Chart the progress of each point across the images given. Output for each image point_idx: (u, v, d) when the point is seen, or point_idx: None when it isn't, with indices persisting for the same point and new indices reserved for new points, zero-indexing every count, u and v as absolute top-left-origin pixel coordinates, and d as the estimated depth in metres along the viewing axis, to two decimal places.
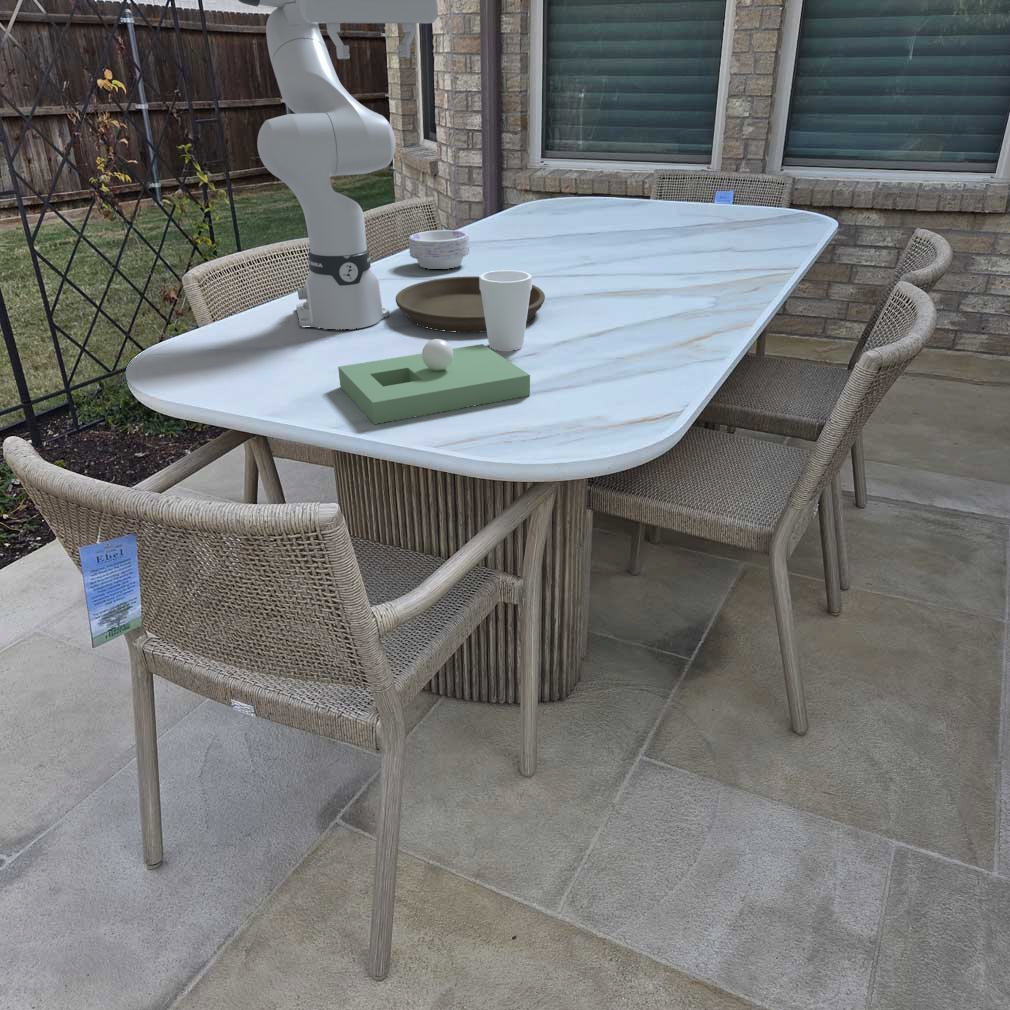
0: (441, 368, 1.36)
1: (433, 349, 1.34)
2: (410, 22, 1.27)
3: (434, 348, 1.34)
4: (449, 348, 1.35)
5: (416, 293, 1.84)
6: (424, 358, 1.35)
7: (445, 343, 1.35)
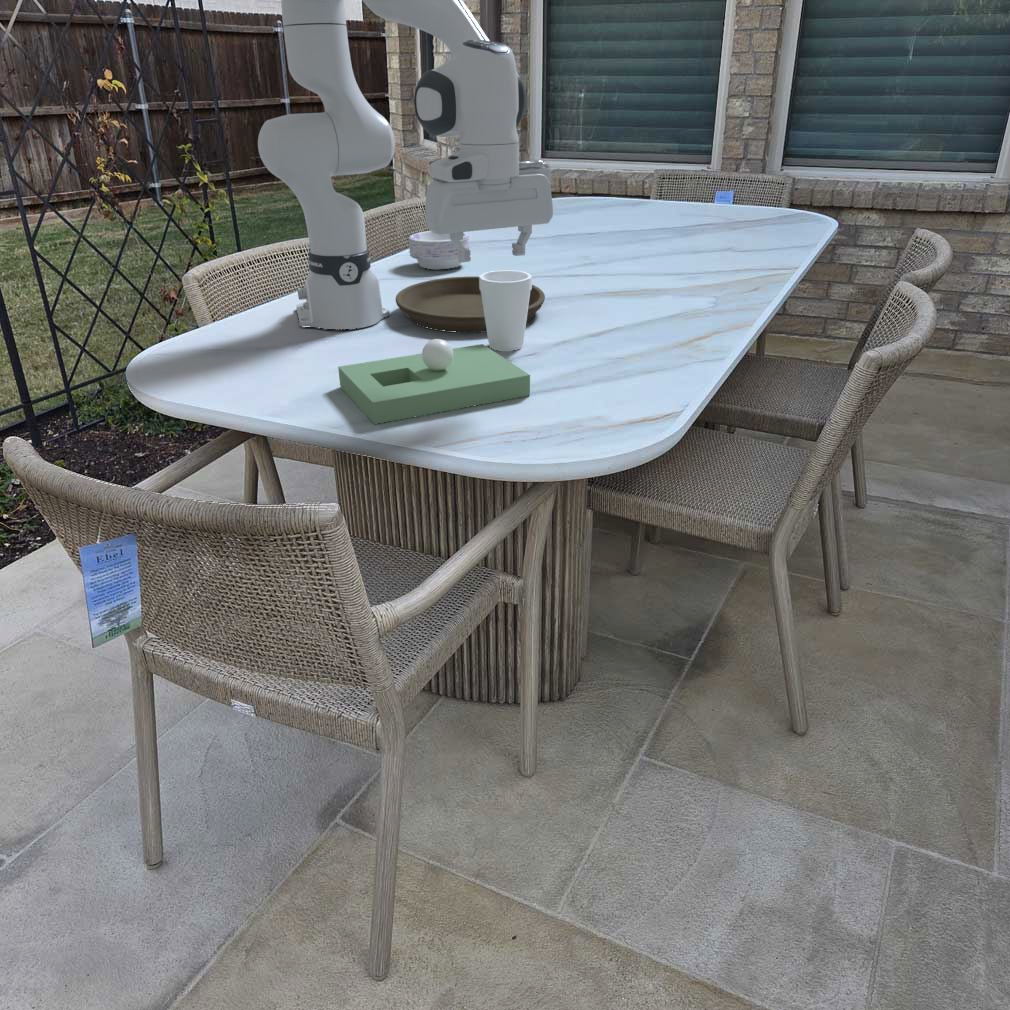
0: (441, 368, 1.36)
1: (433, 349, 1.34)
2: (527, 225, 1.33)
3: (434, 348, 1.34)
4: (449, 348, 1.35)
5: (416, 293, 1.84)
6: (424, 358, 1.35)
7: (445, 343, 1.35)
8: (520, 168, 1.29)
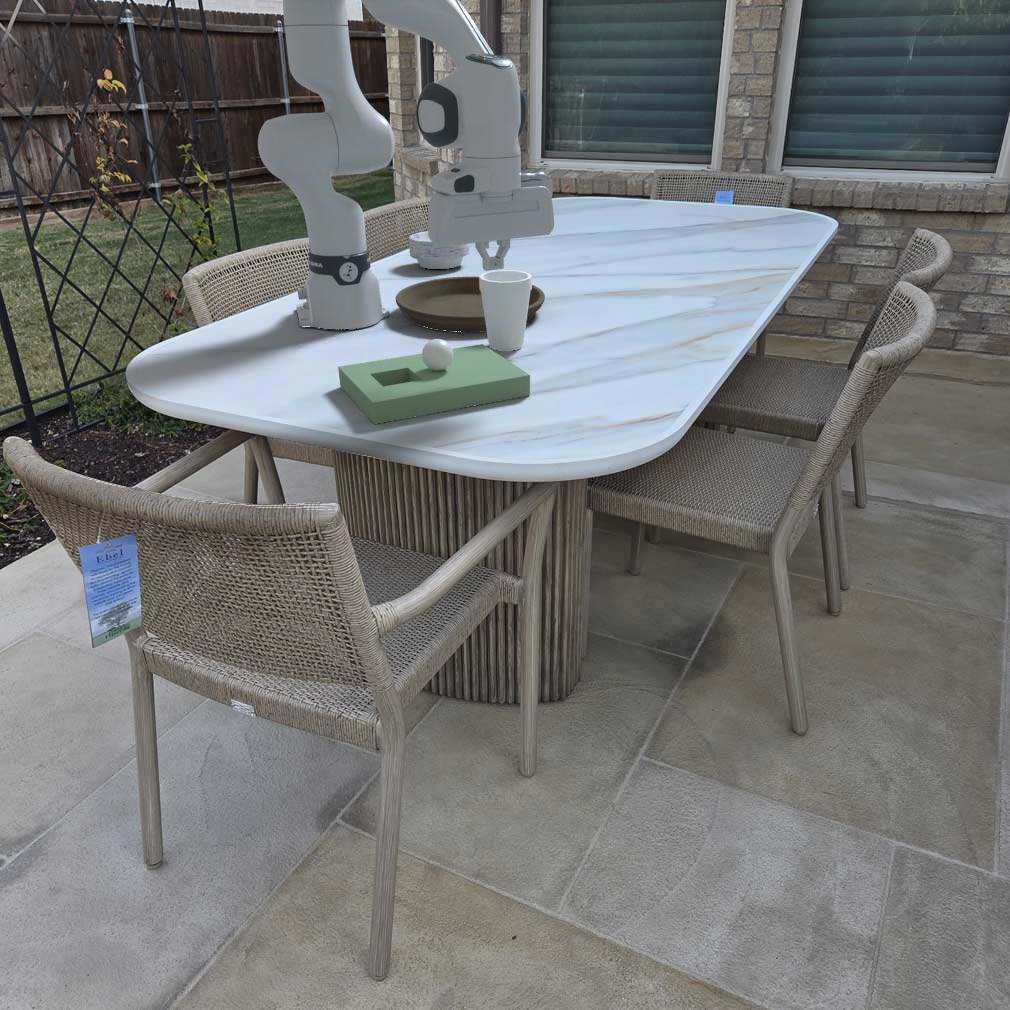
0: (441, 368, 1.36)
1: (433, 349, 1.34)
2: (528, 236, 1.33)
3: (434, 348, 1.34)
4: (449, 348, 1.35)
5: (417, 293, 1.84)
6: (424, 358, 1.35)
7: (445, 343, 1.35)
8: (522, 180, 1.30)
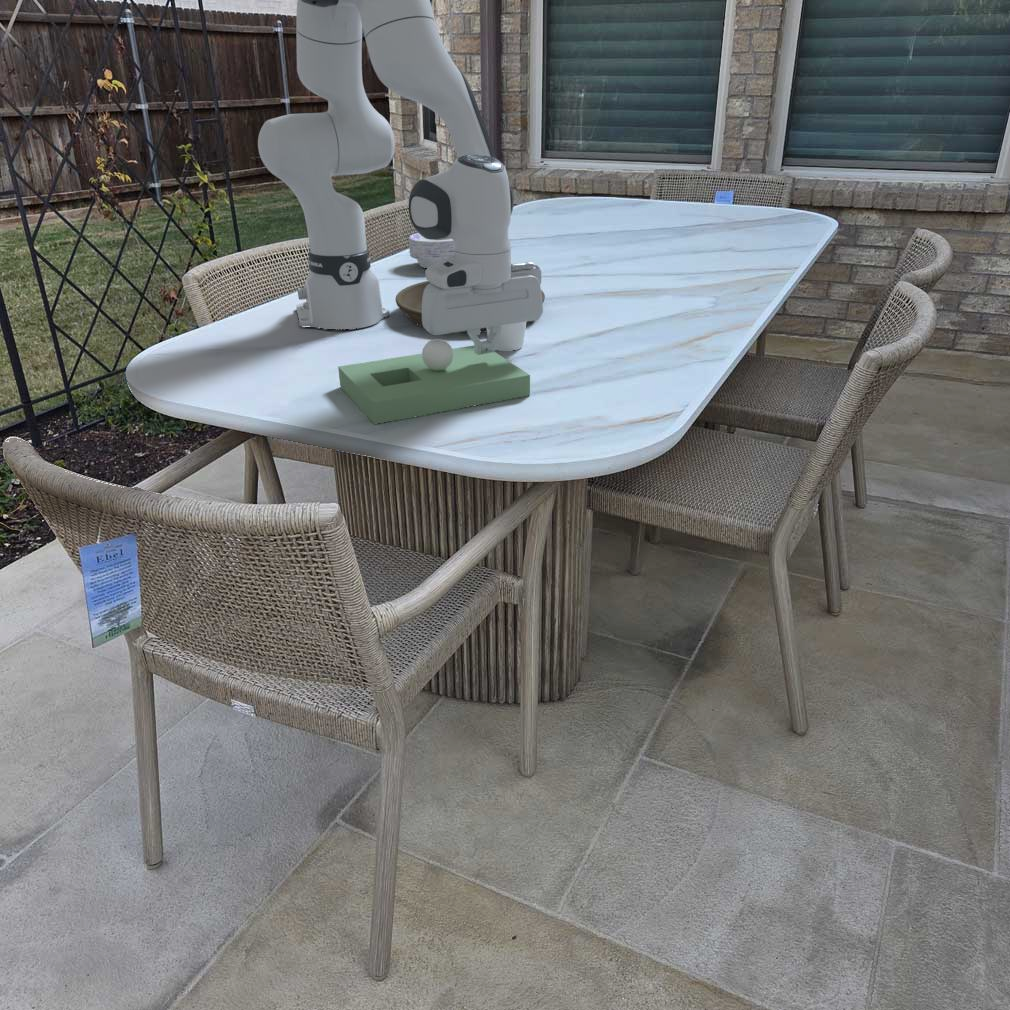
0: (441, 368, 1.36)
1: (433, 349, 1.34)
2: (518, 322, 1.39)
3: (434, 348, 1.34)
4: (449, 348, 1.35)
5: (416, 293, 1.84)
6: (424, 358, 1.35)
7: (445, 343, 1.35)
8: (512, 270, 1.36)
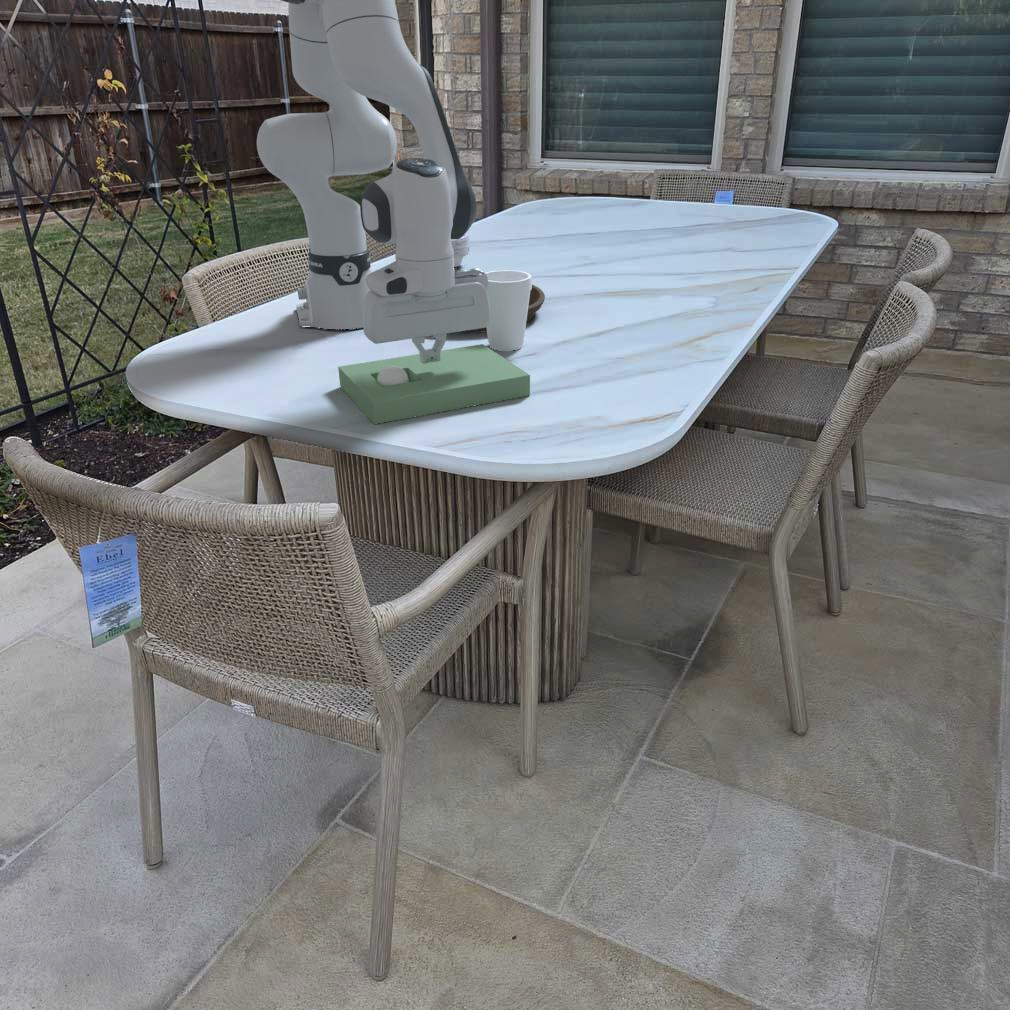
0: (393, 374, 1.32)
1: None
2: (464, 330, 1.35)
3: None
4: None
5: None
6: None
7: None
8: (456, 277, 1.32)
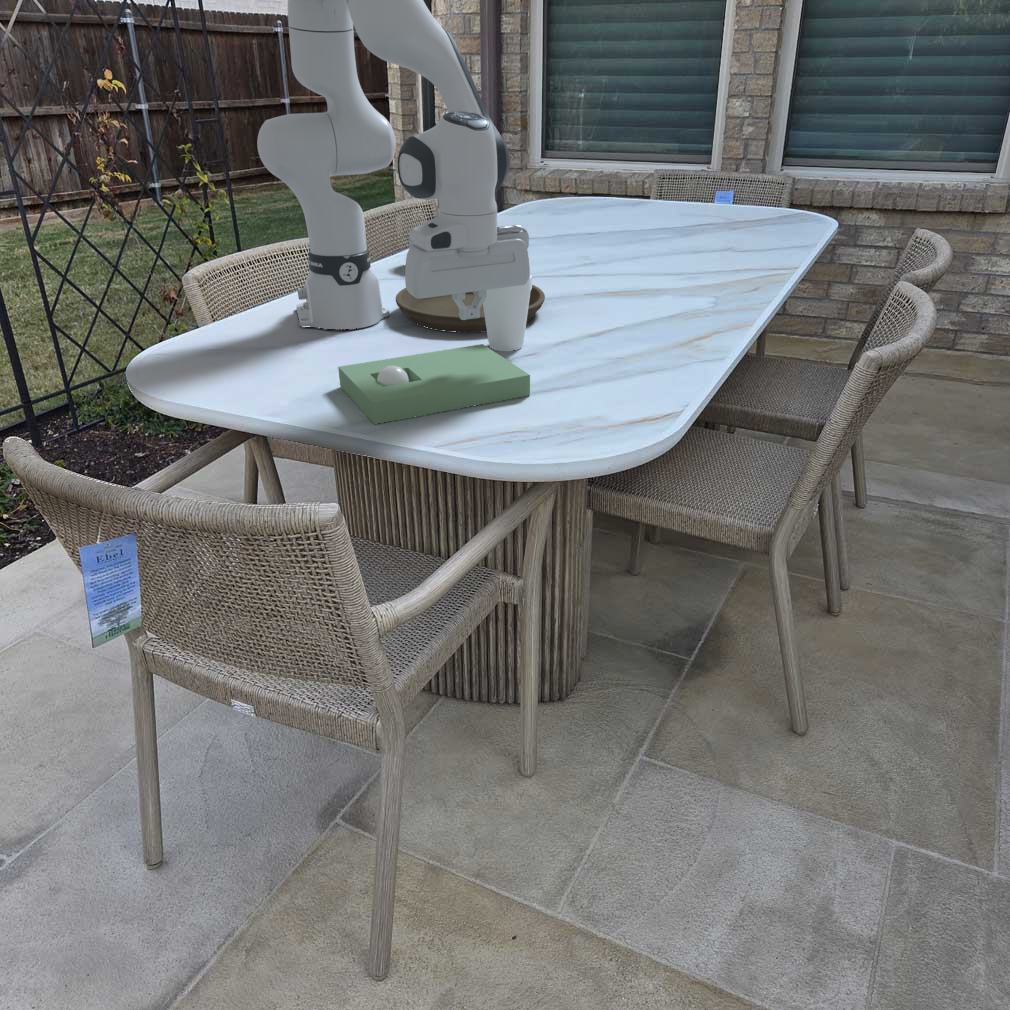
0: (393, 374, 1.32)
1: None
2: (504, 287, 1.36)
3: None
4: None
5: None
6: (406, 374, 1.35)
7: None
8: (498, 233, 1.32)
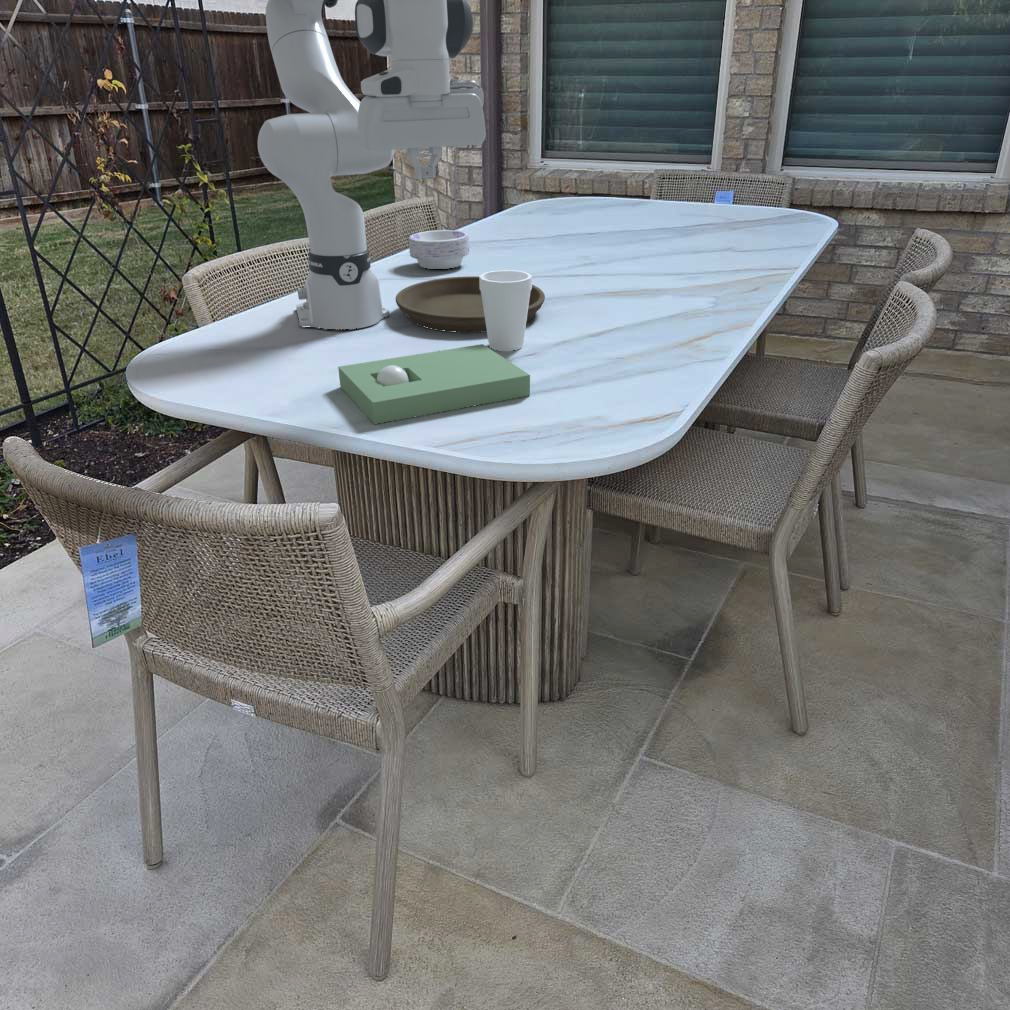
0: (393, 373, 1.33)
1: None
2: (460, 145, 1.35)
3: None
4: None
5: (417, 293, 1.84)
6: None
7: None
8: (452, 87, 1.31)
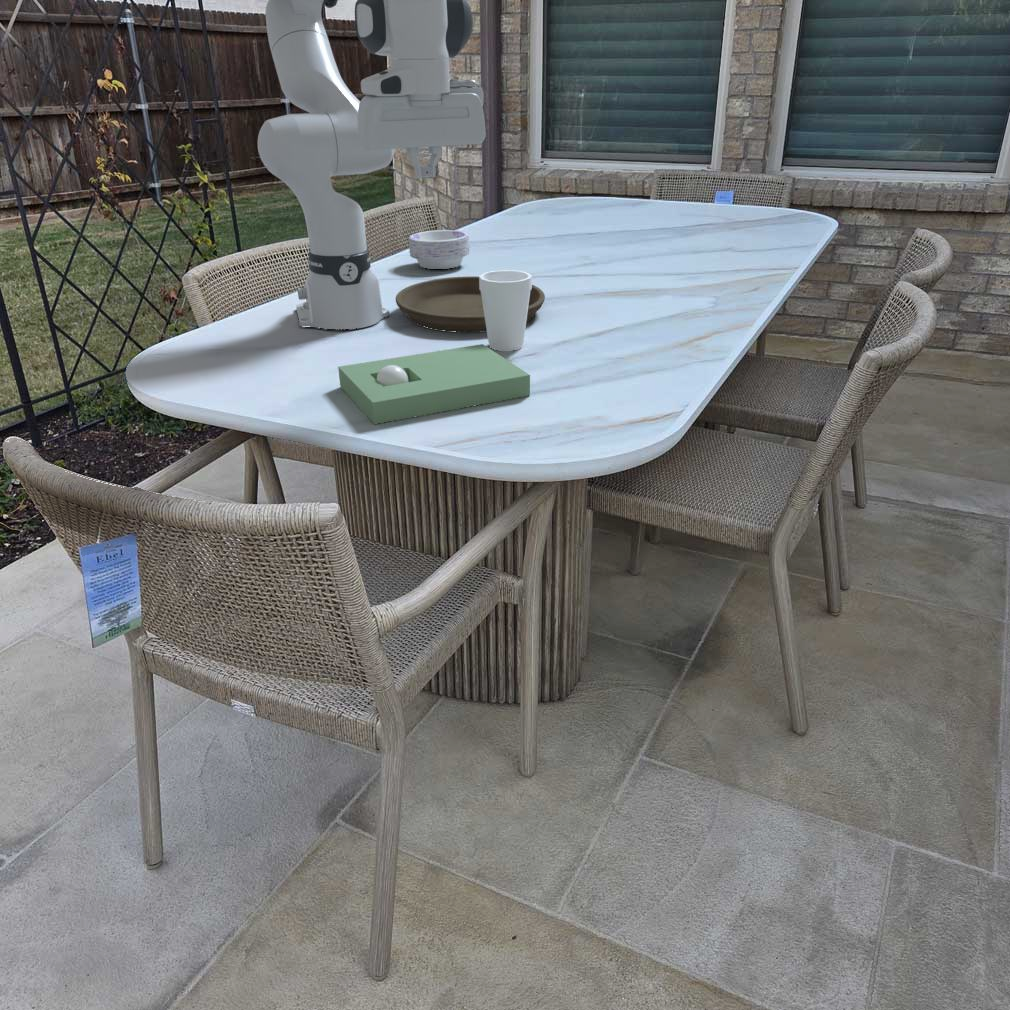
0: (392, 372, 1.33)
1: None
2: (460, 144, 1.35)
3: None
4: None
5: (417, 293, 1.84)
6: None
7: None
8: (451, 86, 1.31)
